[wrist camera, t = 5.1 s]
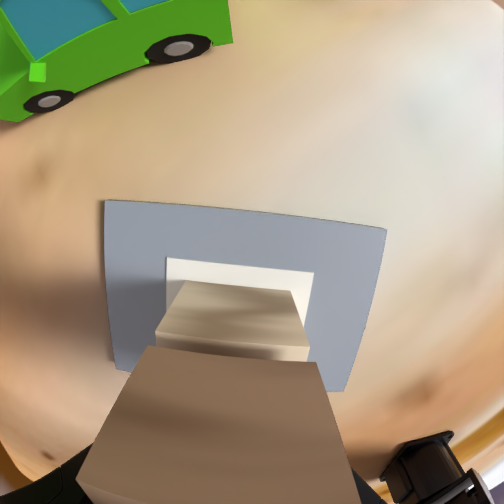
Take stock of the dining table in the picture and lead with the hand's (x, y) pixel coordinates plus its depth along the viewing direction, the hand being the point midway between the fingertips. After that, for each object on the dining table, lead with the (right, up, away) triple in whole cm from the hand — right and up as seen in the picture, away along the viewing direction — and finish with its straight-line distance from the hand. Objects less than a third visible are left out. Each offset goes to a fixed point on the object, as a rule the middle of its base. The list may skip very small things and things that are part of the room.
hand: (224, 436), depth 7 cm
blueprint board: (0, +3, +7) cm, 8 cm away
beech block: (0, +2, +7) cm, 7 cm away
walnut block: (0, 0, +1) cm, 1 cm away
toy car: (-7, +18, +4) cm, 20 cm away
